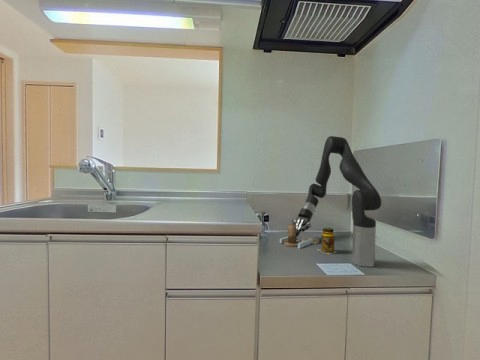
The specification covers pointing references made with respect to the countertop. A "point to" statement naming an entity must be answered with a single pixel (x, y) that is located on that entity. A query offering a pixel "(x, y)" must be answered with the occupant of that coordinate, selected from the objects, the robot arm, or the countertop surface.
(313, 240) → the coaster
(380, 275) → the countertop surface
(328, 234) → the condiment
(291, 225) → the wooden peg stand
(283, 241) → the pale blue rack
